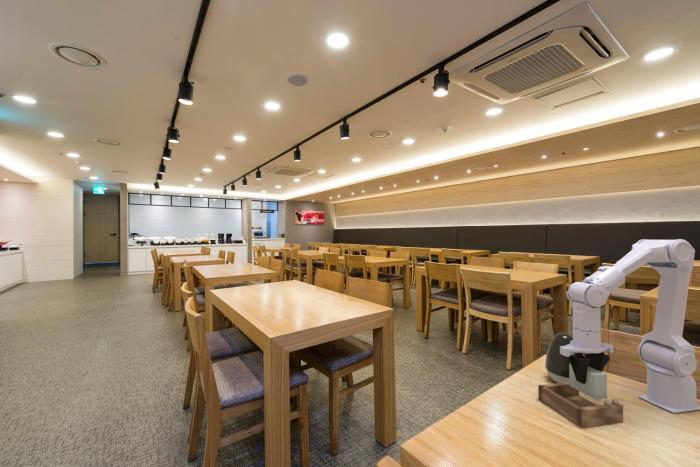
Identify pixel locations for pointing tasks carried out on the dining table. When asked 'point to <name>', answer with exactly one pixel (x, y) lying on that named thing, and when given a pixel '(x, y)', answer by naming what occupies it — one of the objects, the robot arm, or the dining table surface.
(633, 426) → the dining table surface
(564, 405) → the wooden rimmed tray
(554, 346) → the dark egg-shaped dome
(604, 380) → the grey block
